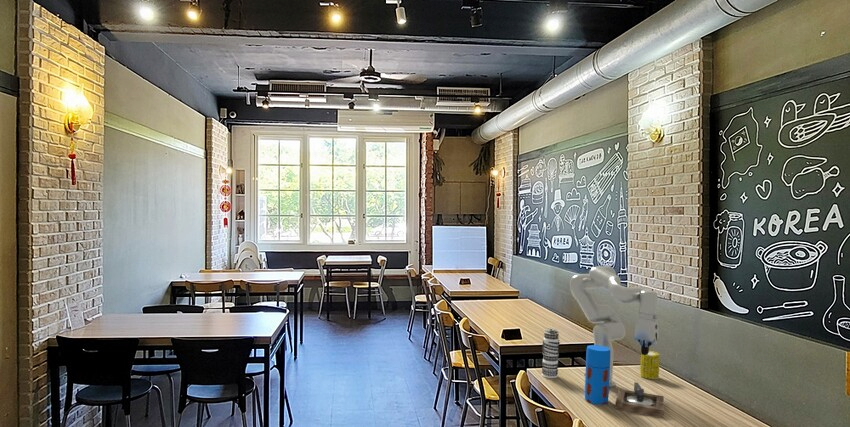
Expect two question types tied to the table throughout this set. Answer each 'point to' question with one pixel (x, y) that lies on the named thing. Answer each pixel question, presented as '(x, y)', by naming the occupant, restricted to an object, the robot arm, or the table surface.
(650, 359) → the food
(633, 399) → the dial
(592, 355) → the thermos
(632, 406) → the wooden frame
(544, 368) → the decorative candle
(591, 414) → the table surface
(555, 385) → the table surface
